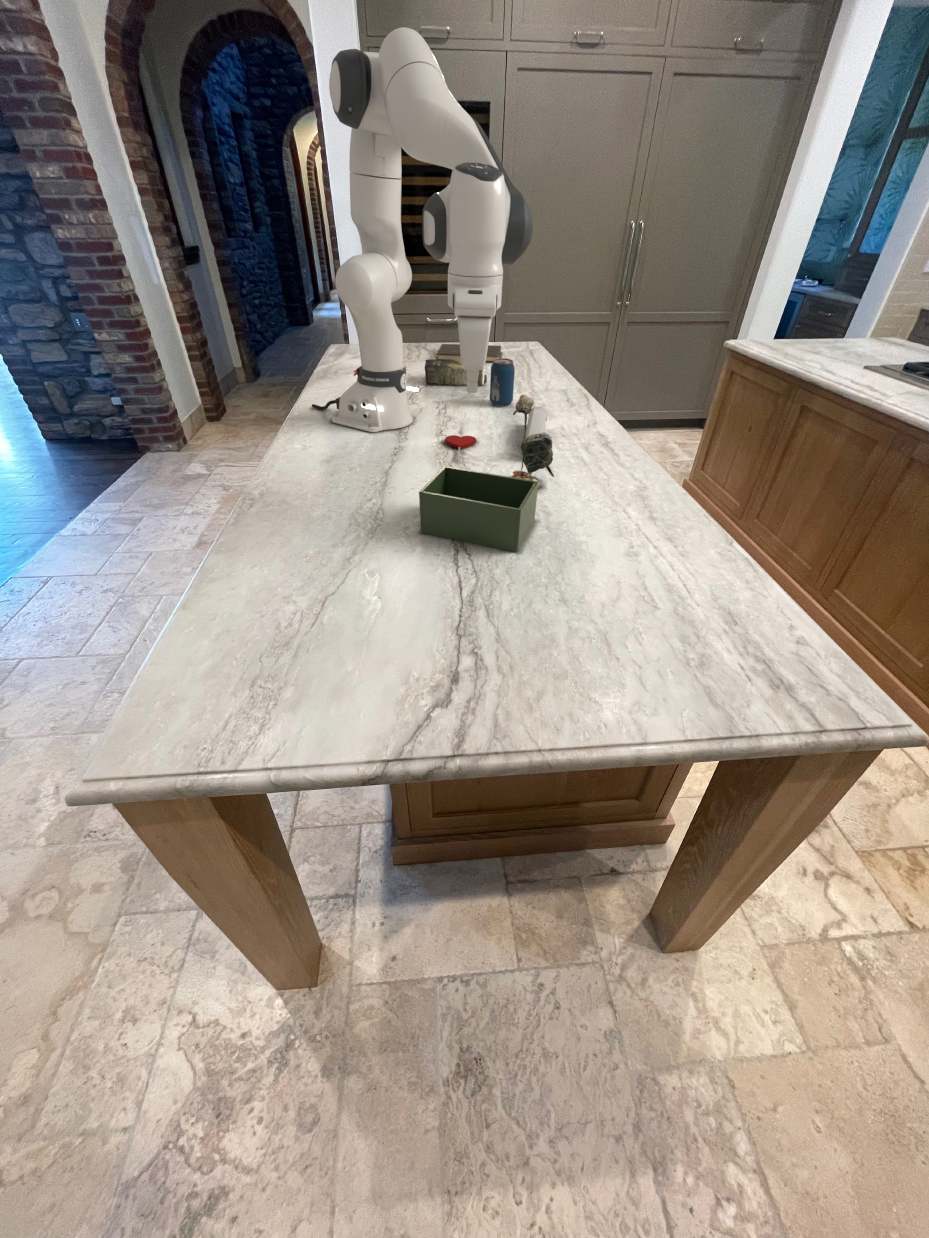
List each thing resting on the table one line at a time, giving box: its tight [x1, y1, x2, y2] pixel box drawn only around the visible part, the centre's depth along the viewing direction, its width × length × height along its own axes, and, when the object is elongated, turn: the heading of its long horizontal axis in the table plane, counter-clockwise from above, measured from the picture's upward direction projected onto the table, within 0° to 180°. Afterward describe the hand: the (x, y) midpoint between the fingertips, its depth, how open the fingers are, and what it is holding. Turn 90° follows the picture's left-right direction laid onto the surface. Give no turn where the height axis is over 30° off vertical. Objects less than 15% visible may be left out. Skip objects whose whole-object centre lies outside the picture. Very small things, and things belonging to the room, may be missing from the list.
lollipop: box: [444, 434, 477, 462], centre depth 133 cm, size 8×1×15 cm
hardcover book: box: [436, 343, 502, 363], centre depth 203 cm, size 16×23×2 cm
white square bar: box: [526, 406, 549, 438], centre depth 136 cm, size 5×5×25 cm
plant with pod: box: [508, 394, 555, 489], centre depth 112 cm, size 8×11×20 cm
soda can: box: [489, 357, 516, 408], centre depth 157 cm, size 7×7×12 cm
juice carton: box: [424, 358, 488, 387], centre depth 176 cm, size 20×10×6 cm, turn 91°
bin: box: [418, 465, 539, 553], centre depth 102 cm, size 19×12×8 cm, turn 70°
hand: (471, 383), depth 96 cm, fingers open, 8 cm apart
